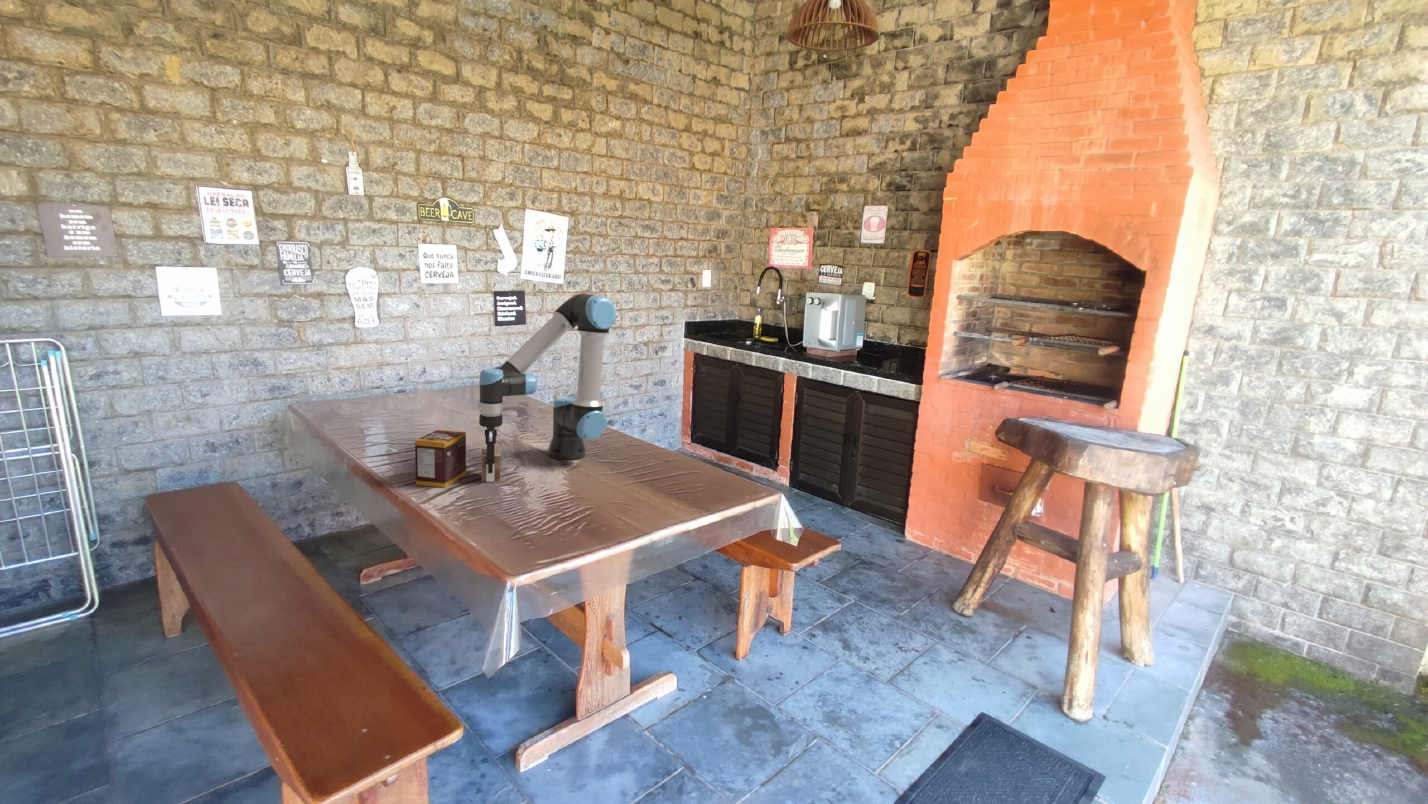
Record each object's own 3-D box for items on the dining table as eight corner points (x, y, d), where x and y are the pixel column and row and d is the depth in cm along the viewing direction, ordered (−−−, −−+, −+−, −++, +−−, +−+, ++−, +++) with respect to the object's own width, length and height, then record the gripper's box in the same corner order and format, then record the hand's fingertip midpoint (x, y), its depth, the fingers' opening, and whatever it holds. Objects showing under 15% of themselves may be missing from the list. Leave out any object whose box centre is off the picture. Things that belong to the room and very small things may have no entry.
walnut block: (500, 475, 233) (500, 448, 231) (500, 481, 227) (500, 453, 225) (481, 476, 231) (481, 448, 229) (481, 481, 226) (481, 454, 224)
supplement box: (466, 474, 232) (466, 431, 229) (445, 488, 217) (444, 442, 214) (438, 471, 233) (438, 428, 230) (415, 485, 218) (414, 439, 215)
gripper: (479, 407, 232) (479, 469, 237) (478, 420, 214) (478, 487, 219) (502, 407, 235) (501, 469, 239) (502, 420, 217) (501, 486, 221)
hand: (490, 477), depth 229 cm, fingers open, 6 cm apart
